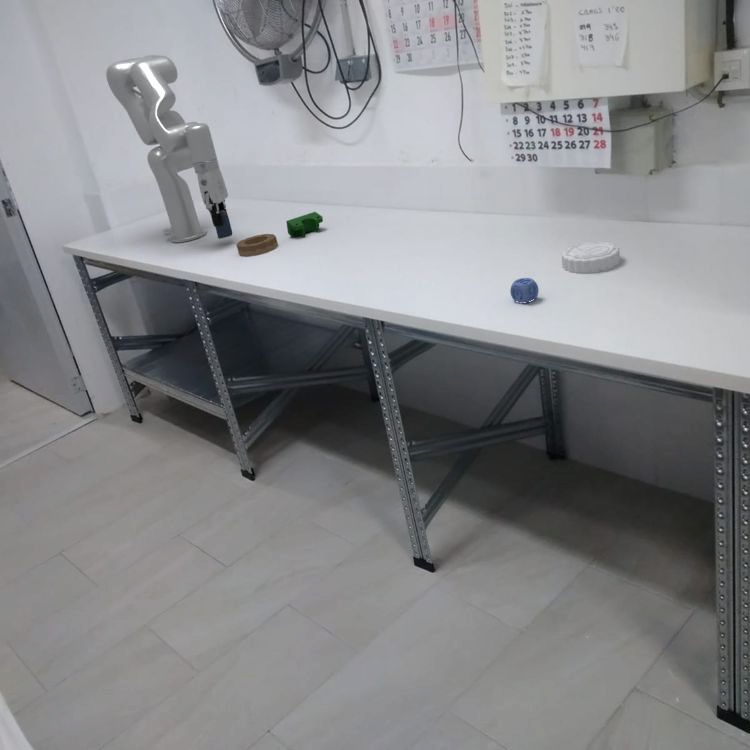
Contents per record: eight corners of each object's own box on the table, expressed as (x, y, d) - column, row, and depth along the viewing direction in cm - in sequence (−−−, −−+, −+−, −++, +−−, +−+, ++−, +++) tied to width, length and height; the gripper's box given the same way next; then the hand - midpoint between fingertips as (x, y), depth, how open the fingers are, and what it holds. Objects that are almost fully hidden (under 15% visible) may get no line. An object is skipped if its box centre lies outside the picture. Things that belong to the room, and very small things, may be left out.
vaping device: (216, 237, 238) (206, 201, 232) (232, 233, 239) (222, 197, 233) (217, 239, 235) (207, 202, 230) (233, 235, 237) (224, 198, 231)
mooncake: (630, 265, 154) (630, 248, 153) (577, 279, 153) (576, 262, 152) (603, 251, 165) (602, 236, 164) (553, 264, 164) (552, 248, 162)
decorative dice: (524, 295, 150) (522, 276, 148) (539, 298, 147) (537, 279, 145) (511, 301, 148) (508, 283, 147) (526, 305, 145) (524, 286, 143)
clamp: (303, 249, 230) (290, 230, 224) (294, 243, 234) (282, 224, 228) (329, 227, 232) (318, 207, 226) (320, 221, 236) (309, 201, 230)
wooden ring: (233, 258, 221) (231, 248, 219) (246, 246, 231) (244, 237, 230) (270, 253, 218) (268, 243, 217) (282, 241, 228) (279, 232, 227)
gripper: (207, 170, 219) (223, 230, 227) (226, 158, 233) (241, 214, 242) (184, 173, 221) (200, 232, 229) (205, 161, 235) (220, 217, 243)
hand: (221, 222), depth 235 cm, fingers closed on vaping device, 4 cm apart
